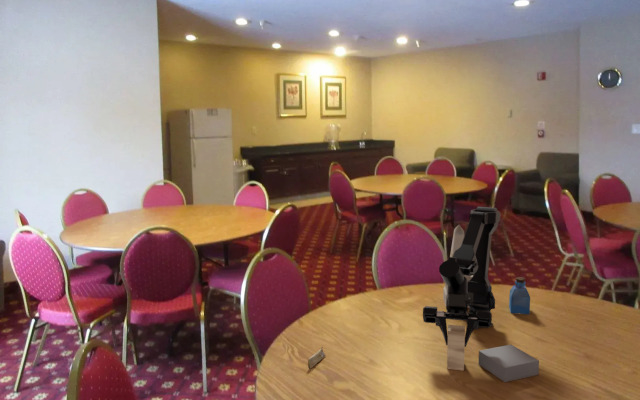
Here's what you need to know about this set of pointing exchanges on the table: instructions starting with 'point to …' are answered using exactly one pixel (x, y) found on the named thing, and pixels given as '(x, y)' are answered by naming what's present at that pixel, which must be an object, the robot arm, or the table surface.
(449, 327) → the birch block
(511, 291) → the perfume bottle
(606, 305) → the table surface
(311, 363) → the snack bar
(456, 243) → the miniature monument
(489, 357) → the plinth
